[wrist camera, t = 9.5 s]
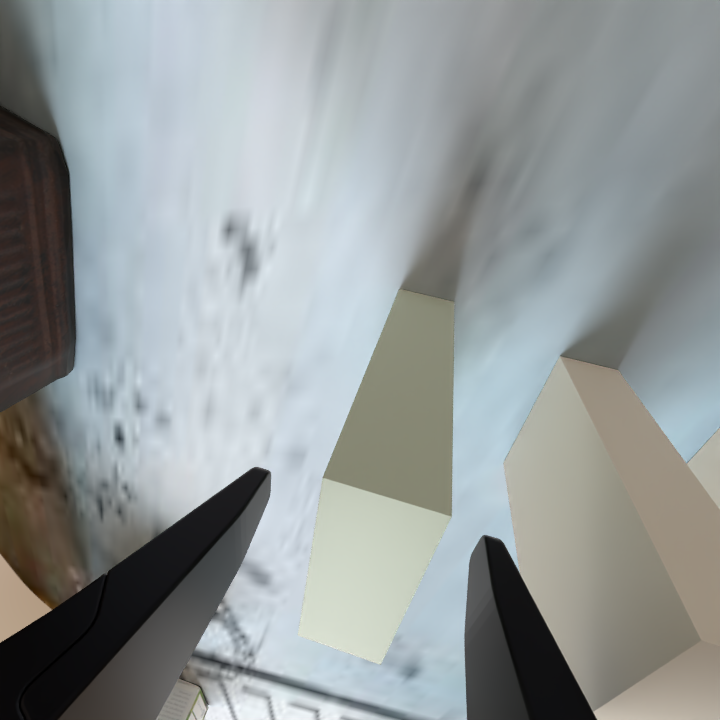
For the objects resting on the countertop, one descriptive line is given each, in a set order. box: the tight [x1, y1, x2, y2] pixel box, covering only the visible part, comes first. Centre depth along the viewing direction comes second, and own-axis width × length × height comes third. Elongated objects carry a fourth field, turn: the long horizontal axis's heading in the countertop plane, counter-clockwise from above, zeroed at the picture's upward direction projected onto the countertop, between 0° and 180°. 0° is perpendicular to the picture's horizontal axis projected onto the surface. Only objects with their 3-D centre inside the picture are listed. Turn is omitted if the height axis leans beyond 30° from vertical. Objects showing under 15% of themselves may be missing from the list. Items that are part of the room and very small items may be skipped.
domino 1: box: [298, 289, 454, 665], centre depth 10 cm, size 2×5×8 cm, turn 170°
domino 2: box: [503, 356, 720, 720], centre depth 10 cm, size 2×5×8 cm, turn 171°
